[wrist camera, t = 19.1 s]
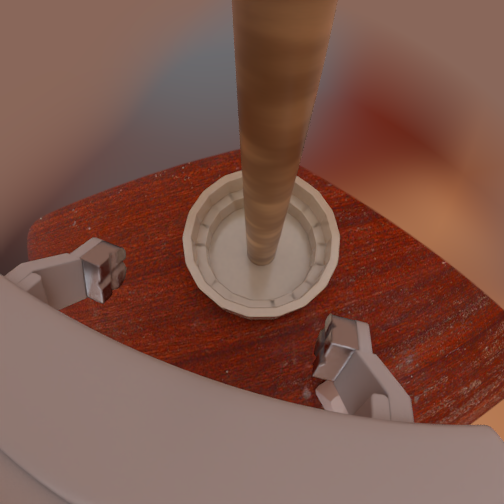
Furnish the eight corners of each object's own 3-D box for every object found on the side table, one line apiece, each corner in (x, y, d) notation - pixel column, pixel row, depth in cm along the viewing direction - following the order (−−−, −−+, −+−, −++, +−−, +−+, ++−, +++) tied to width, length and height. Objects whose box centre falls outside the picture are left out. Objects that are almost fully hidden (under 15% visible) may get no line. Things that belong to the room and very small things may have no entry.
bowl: (170, 277, 27) (153, 265, 22) (237, 174, 30) (235, 146, 25) (286, 345, 26) (293, 347, 21) (345, 230, 29) (361, 210, 24)
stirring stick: (241, 257, 27) (200, -95, 2) (255, 233, 28) (264, -101, 3) (266, 271, 27) (332, -88, 2) (280, 247, 27) (366, -85, 2)
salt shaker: (348, 364, 25) (393, 376, 16) (366, 397, 24) (415, 420, 15) (311, 387, 24) (341, 412, 15) (330, 420, 24) (366, 456, 14)
